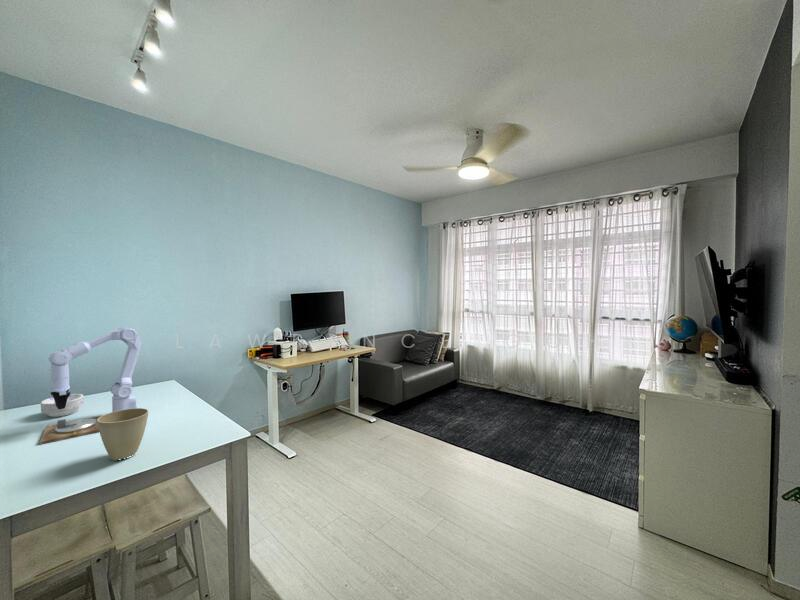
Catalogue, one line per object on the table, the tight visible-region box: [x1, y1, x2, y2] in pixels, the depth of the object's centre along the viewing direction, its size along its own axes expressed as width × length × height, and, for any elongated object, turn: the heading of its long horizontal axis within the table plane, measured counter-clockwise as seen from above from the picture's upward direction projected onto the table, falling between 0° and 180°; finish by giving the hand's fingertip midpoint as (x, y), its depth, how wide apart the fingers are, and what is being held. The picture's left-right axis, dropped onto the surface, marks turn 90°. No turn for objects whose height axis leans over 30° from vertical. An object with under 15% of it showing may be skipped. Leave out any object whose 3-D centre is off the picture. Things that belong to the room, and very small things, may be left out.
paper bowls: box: [40, 393, 85, 418], centre depth 165 cm, size 15×15×8 cm
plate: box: [39, 415, 102, 446], centre depth 146 cm, size 20×20×1 cm
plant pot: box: [97, 407, 149, 461], centre depth 124 cm, size 15×15×16 cm
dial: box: [55, 418, 96, 433], centre depth 146 cm, size 13×13×4 cm
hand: (60, 407), depth 146 cm, fingers open, 3 cm apart
